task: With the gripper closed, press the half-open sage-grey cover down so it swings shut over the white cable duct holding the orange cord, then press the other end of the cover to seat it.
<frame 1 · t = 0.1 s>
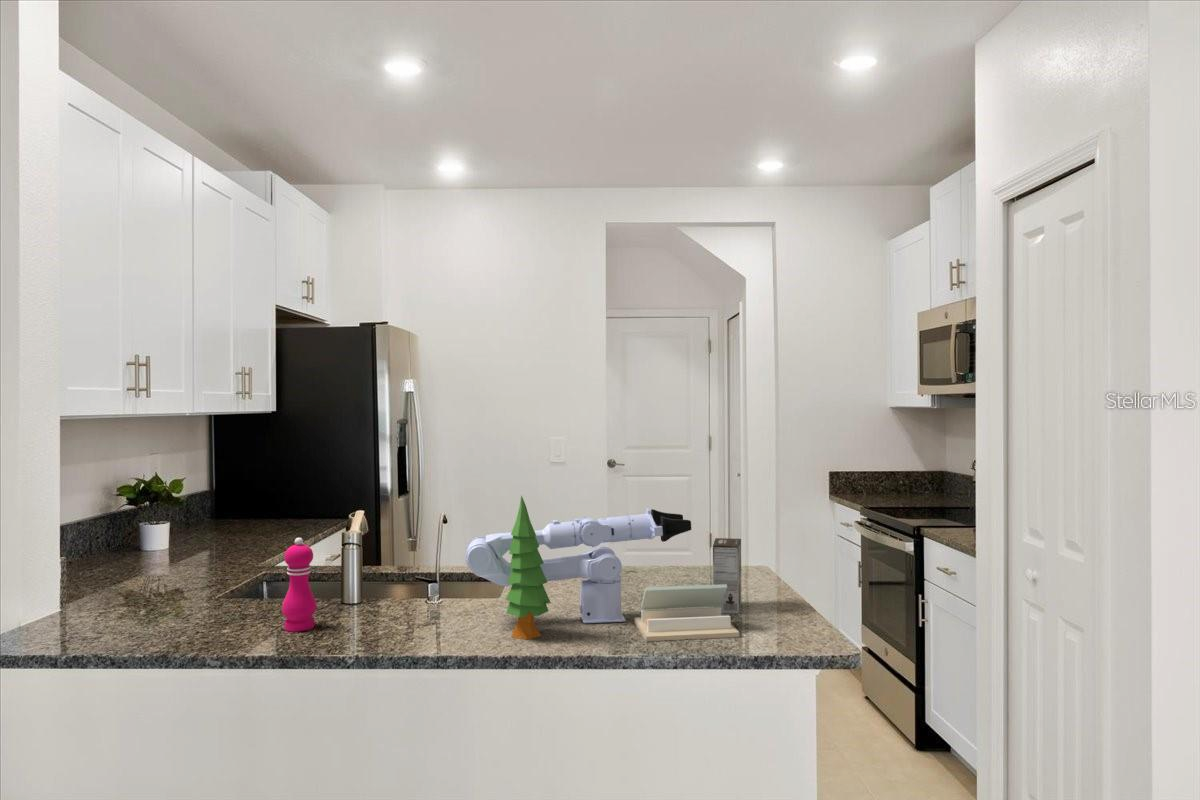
hand: (686, 522, 188), 22 cm above the countertop, tool horizontal, fingers open, 7 cm apart
coffee box: (727, 609, 194), on the countertop
pepper mill: (299, 628, 179), on the countertop
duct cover: (683, 597, 178), point 7 cm above the countertop, hinge at 45.0°
duct base: (685, 629, 177), on the countertop
decorative tree: (528, 636, 173), on the countertop
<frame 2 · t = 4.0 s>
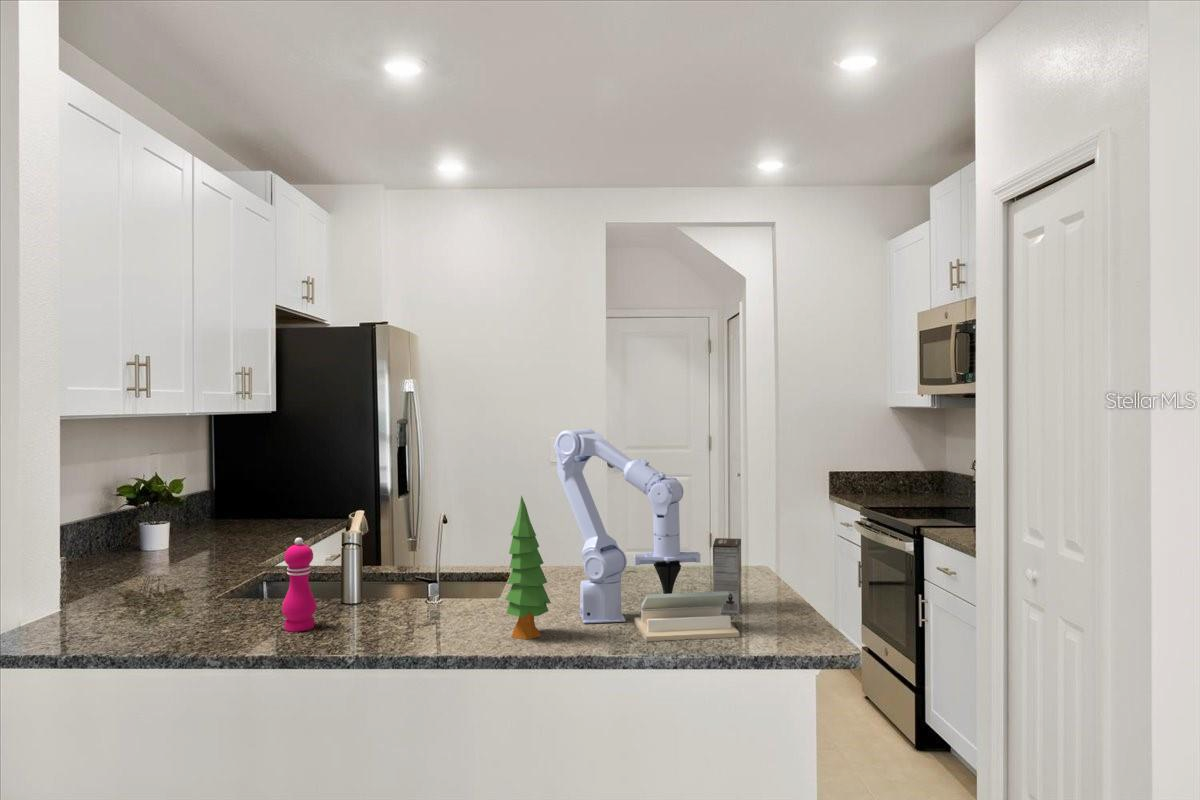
hand: (667, 596, 177), 7 cm above the countertop, tool pointing down, fingers closed
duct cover: (684, 600, 178), point 6 cm above the countertop, hinge at 32.4°
everything else where it was.
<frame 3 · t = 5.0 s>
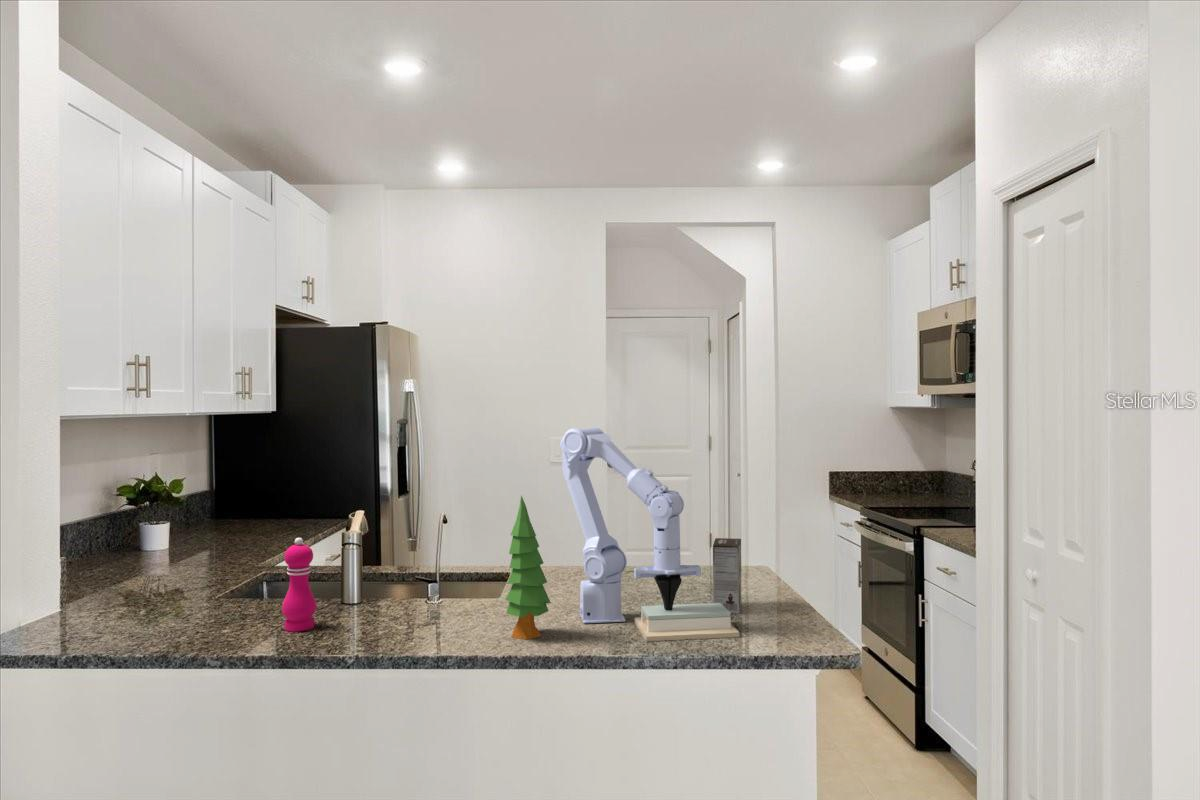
hand: (668, 609, 177), 4 cm above the countertop, tool pointing down, fingers closed, pressing on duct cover
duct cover: (685, 611, 177), point 4 cm above the countertop, hinge at 0.1°, touching gripper
everything else where it was.
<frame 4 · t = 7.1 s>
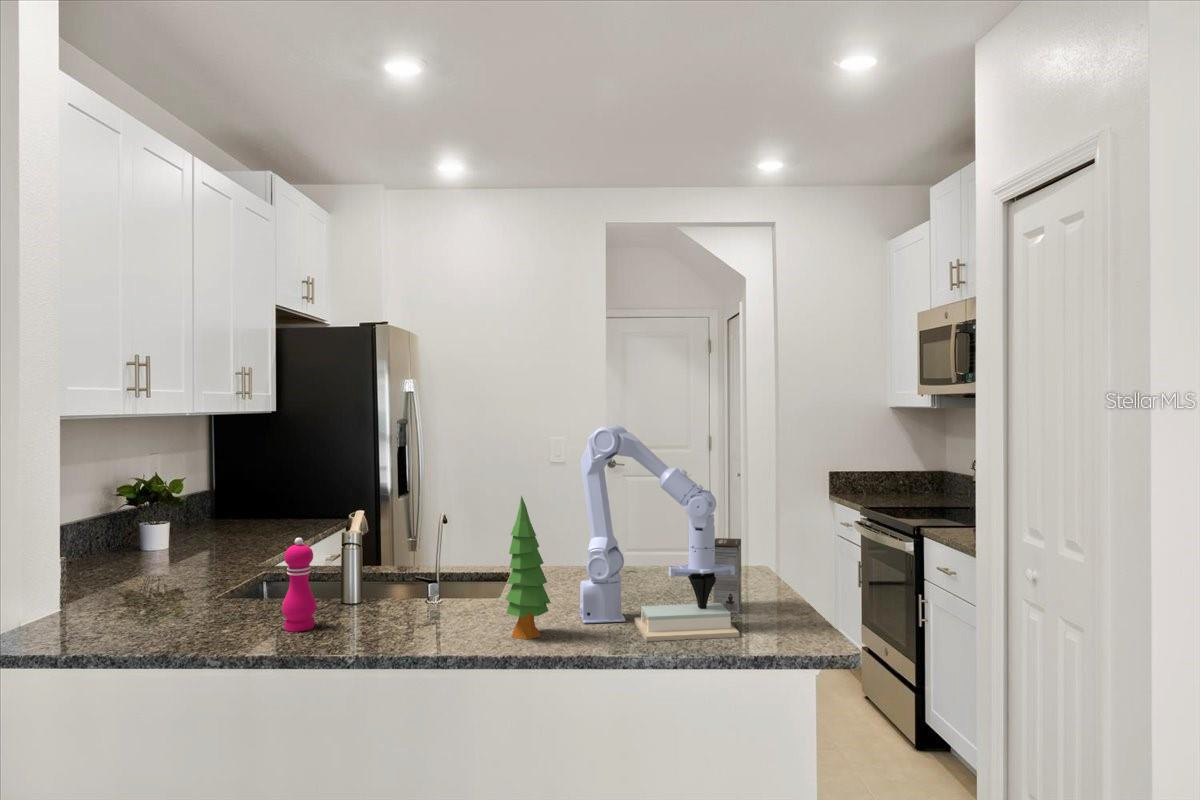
hand: (702, 608, 179), 4 cm above the countertop, tool pointing down, fingers closed, pressing on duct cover
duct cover: (685, 611, 177), point 4 cm above the countertop, hinge at -0.8°, touching duct base, gripper
everything else where it was.
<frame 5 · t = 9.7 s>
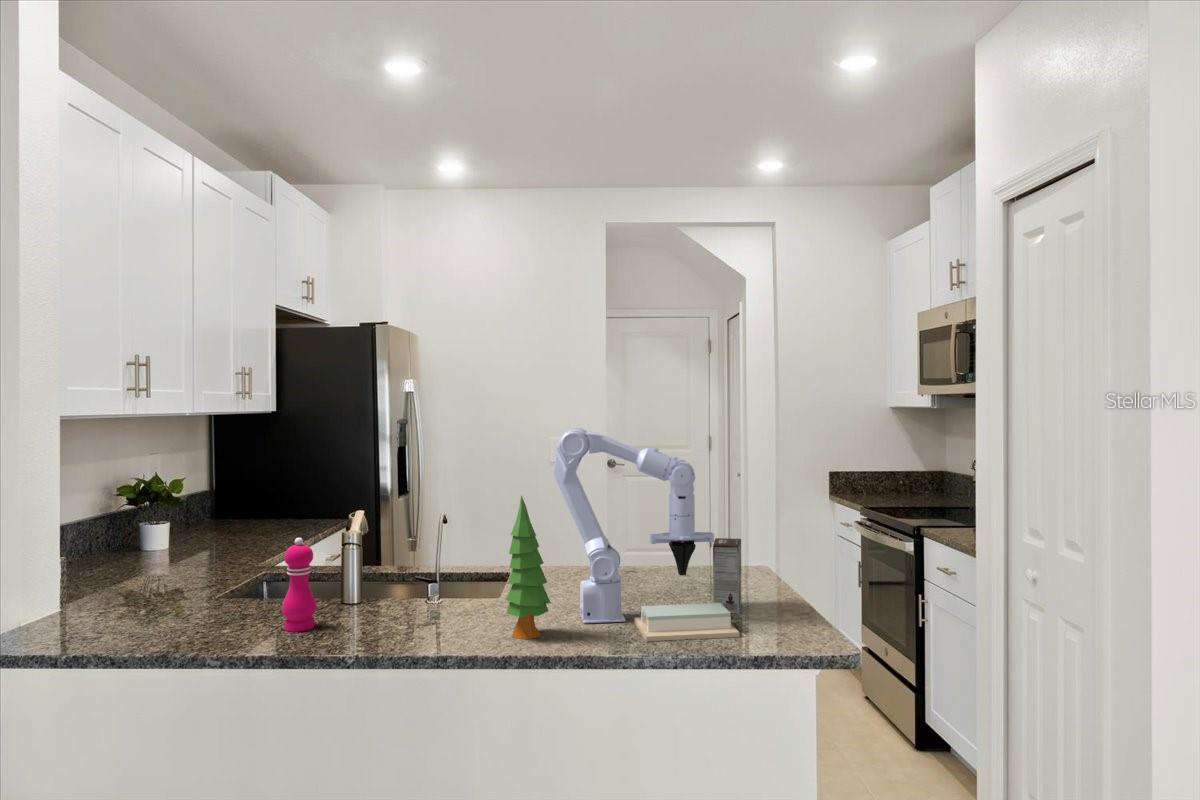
hand: (682, 574, 184), 10 cm above the countertop, tool pointing down, fingers closed
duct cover: (685, 611, 177), point 4 cm above the countertop, hinge at -0.8°, touching duct base
everything else where it was.
at the end: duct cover at -1° (first picture: +45°) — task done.
